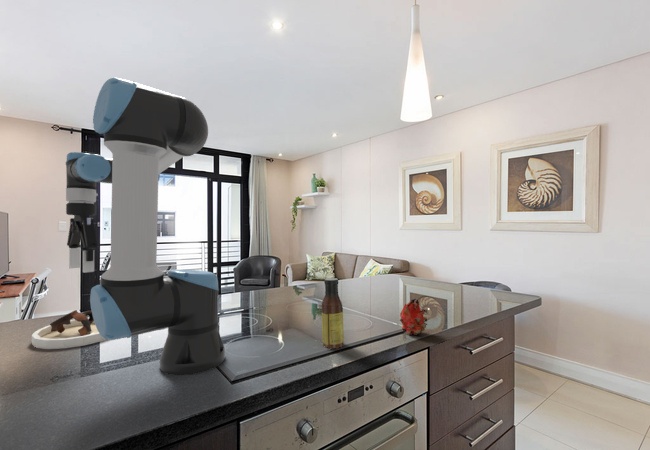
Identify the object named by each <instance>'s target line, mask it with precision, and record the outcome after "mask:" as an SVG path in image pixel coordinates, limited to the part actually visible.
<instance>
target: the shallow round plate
mask: <svg viewBox="0 0 650 450" xmlns="http://www.w3.org/2000/svg"><path fill="white" fill-rule="evenodd" d="M87 318H88V320H89V316H87ZM70 323H71V324H68V325H63V327H64V328H65V330H64V331H63V332H62V333H59V332H58V331H53V332H51V328H52V327H51V325H50V324H49V325H46V326H44V327H42V328H39V329H37V330H36V331H34V332H33V333H32V334H31V345H32V346H33V347H34V348H35V347H36V349H41V350H57V349H69V348H76V347H82V346H89V345H91V344H96V343H100V342H104V341H107V339H105V338H103V337H102V336H101V335H100V333H99V332H98V330H97V327H96V325H95V322H94V321H93V322H92V323H91V325H90V326H91V330H92V331H90V332H88V333H87V334H85V335H83V336H81V335H80V333H79V332H78V330H79V329H81V328H82V327H83V324H82V323H81V321H80V322H78V321H76V320H75V319H74V318H73V319H71V320H70Z"/></svg>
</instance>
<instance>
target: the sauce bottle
mask: <svg viewBox="0 0 650 450" xmlns="http://www.w3.org/2000/svg"><path fill="white" fill-rule="evenodd" d="M323 281H324V289H325V291H324V297H323V299H322V302H321V334H322V335H321V337H322V340H321V341H322V346H323V347H324V346H325V347H324V348H326V347H328V348H327V349H330V348H336V349H340V348H339V347H341V348H342V346H343V347H344V341H345V336H344V311H343V310H344V309H343V303H342V301H341V299H340V296H339V288H338V287H339V279H338V278H336V277H326V278H324V280H323Z"/></svg>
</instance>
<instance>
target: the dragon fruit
mask: <svg viewBox="0 0 650 450" xmlns="http://www.w3.org/2000/svg"><path fill="white" fill-rule="evenodd" d="M425 314H426V315H428V314H429V313H428V310H427V309H423V308H422V309H421V307H420V300H418V299H417V298H414V299H411V300H410V301H409V302H408V303H406V304H404V306H403V308H402V310H401V312H400V315H399V316H400V318H399V321H400V322H401V324H402V327H401V328H402V331H403V332H406V334H407V335H408V336H411V335H412V336H417V335H420V334H421V333H422V332H424V331H425V328H427V326H428V323H427V322H428V318H427V317H425V316H424V315H425Z"/></svg>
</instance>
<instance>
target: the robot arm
mask: <svg viewBox="0 0 650 450" xmlns="http://www.w3.org/2000/svg"><path fill="white" fill-rule="evenodd" d="M92 117H93V118H92V124H93V130H94V132H95V133H98V134H99V135H103V145H104V146H105V147H106V148H107V150H109V151H110V152H111V154H112V158H108V157H104V156H102V155H100V154H95V153H85V152H78V151H73V152H68V153H67V155H66V162H65V165H66V168H65V169H66V172H65V173H66V188H65V201H66V202H67V203H66V205H65V207H66V208H65V209H66V211H65V213H66V215H68V216H73V217H70V219H69V221H70V222H69V230H68V236H67V237H68V238H67V241H66V242H67V243H66V245H67V247H68V248H69V249H68V250H69V251H68V253H69V255H68V256H69V259H68V260H69V262H68V263H69V264H68V267H69V269H80V268H81V251H82V273H85V274H86V273H94V272H95V251H96V249H98V242H97V237H96V236H97V235H96V231H95V221H94V217H90V216H96V215H97V204H96V202H97V197H98V196H99V194H98V192H97V183H100V184H101V183H102V184H103V183H104V184H111V211H110V212H111V215H110V216H111V219H110V220H111V223H110V266H109V268H108V269H107V270H106V271H105V272H103V273H102V274H101V281H100V282H101V284H96V285H95V286H94V285H93V287H91V289H90V295H89V303H90V309H91V310H90V311H92V315H93V319H94V322H95V325H96V327H97V330H98V332H99V333H100V335H101V336H102V337H103V338H105V339H107V340H108V341H116V340H121V339H125V338H127V339H130V338H131V337H134V336H139V335H143V334H147V333H151V332H155V331H159V330H163V329H167V337H166V340H165V343H164V344H163V345H164V346H163V347H162V350H161V354H160V358H159V369H160V371H161V372H162V373H164V374H166V375H171V376H190V375H196V374H202V373H206V372H208V371H210V370H213V369H215V368H217V367H219V366H220V365H221V364H222V363H223V362H224V361H225V358H226V350H225V345H224V343H223V340H222V337H221V333H220V331H219V322H218V321H219V291H220V288H219V280H218V279H219V278H218V276H217V275H216V274H215V273H214V272H211V271H206V270H205V271H204V270H198V269H197V270H195V269H194V270H193V269H170V270H169V271H168V272H167V277H164V274H165V273H164V270H162V269H161V268H160V267H158V265H157V257H158V255H157V254H158V253H157V248H158V212H159V211H158V210H159V206H158V205H159V181H160V175H161V173H162V172H164V171H166V170H168V168H169V167H171V166H172V165H174V164H175V163H177V162H178V161H179V160H181V159H182V158H184V157H191V156H193V155H195V154H197V153H198V152H199V151H201V149H202V148H203V147H204V146H205V144H206V142H207V140H208V135H209V126H208V122H207V120H206V116H205V115H204V113H203V111H202V110H201V109H200V108H199V107H198V106H197V105H196V104H195V103H194V102H193V101H190V100H189V99H187V98H186V97H182V96H180V95H176V94H171V93H169V92H165V91H164V90H163V91H162V90H160V89H156V88H153V87H150V86H147V85H144V84H141V83H138V82H137V81H134V80H133V81H131V80H127V79H122V78H119V77H111V78H108V79H107V80H106V81H105V82H104V83H103V85H102V86H101V88H100V90H99V92H98V96H97V97H96V102H95V106H94V110H93V115H92ZM81 242H82V243H81ZM82 246H83V247H82ZM107 340H106V341H107Z"/></svg>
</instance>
